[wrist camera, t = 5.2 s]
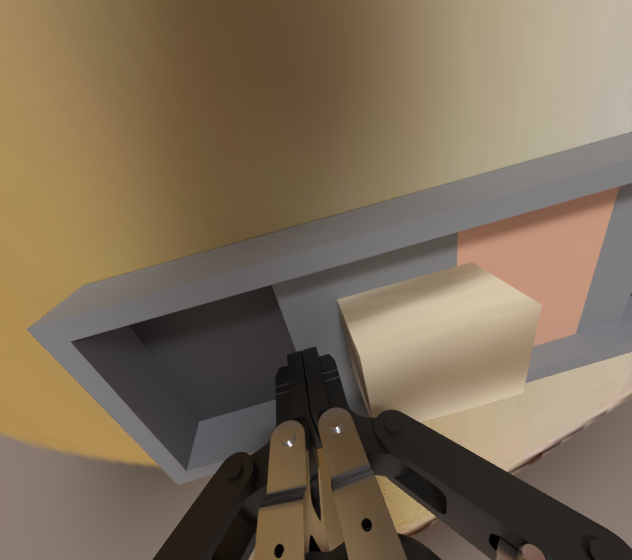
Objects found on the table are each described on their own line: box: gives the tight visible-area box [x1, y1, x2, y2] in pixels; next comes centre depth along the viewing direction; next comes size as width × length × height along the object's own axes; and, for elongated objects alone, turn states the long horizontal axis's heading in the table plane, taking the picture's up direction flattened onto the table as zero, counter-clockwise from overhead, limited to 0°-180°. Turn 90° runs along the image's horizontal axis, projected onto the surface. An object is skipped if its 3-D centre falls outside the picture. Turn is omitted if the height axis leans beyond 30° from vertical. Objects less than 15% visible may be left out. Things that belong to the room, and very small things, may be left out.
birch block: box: [337, 262, 542, 423], centre depth 13 cm, size 5×7×4 cm
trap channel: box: [27, 132, 632, 485], centre depth 15 cm, size 12×38×4 cm, turn 104°
